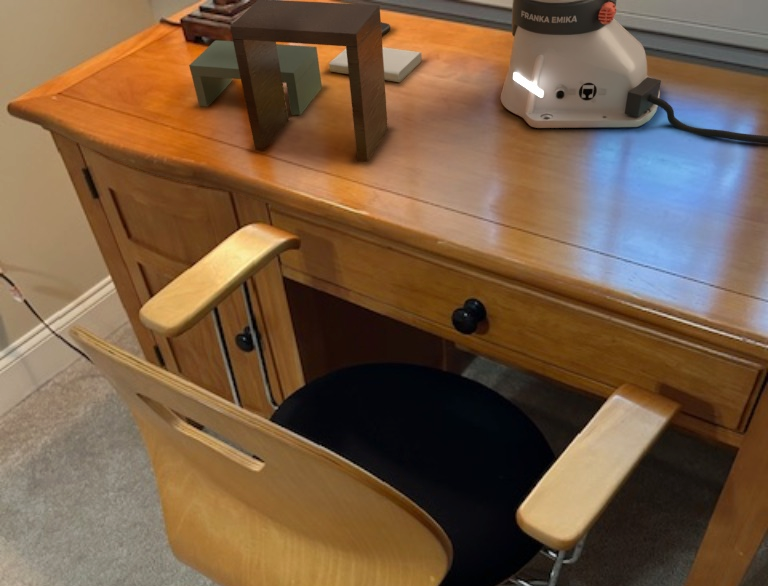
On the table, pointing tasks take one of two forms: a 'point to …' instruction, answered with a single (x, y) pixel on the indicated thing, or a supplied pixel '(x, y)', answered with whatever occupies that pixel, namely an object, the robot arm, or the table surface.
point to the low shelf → (222, 67)
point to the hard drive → (393, 59)
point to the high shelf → (321, 27)
